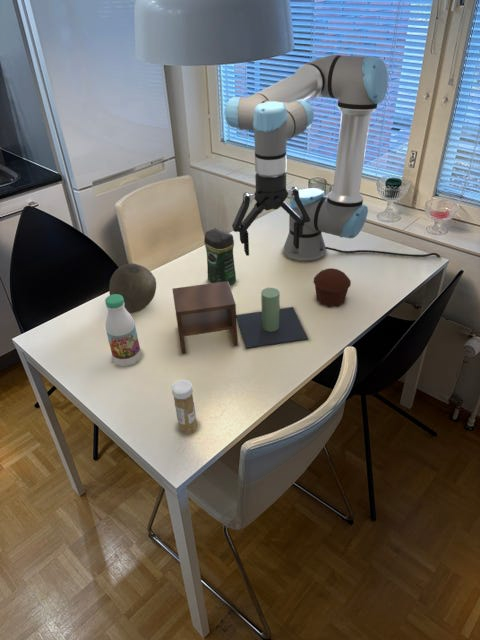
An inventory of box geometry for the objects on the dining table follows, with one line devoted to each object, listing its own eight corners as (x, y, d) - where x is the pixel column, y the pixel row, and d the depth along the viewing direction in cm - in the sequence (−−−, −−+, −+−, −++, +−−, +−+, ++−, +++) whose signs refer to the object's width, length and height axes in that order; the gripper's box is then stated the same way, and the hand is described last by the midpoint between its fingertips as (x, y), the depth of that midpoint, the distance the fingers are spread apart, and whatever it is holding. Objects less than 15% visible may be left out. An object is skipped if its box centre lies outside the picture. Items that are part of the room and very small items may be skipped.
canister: (277, 320, 148) (277, 286, 141) (281, 330, 144) (281, 296, 137) (260, 322, 147) (259, 288, 140) (264, 332, 143) (263, 298, 136)
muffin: (356, 300, 156) (359, 273, 150) (332, 314, 150) (334, 286, 144) (328, 285, 163) (330, 259, 157) (304, 298, 158) (306, 271, 152)
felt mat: (292, 308, 153) (292, 306, 153) (307, 339, 141) (308, 338, 140) (236, 316, 151) (235, 315, 151) (246, 349, 138) (246, 347, 138)
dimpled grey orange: (133, 327, 149) (124, 285, 140) (105, 310, 156) (95, 269, 148) (168, 306, 157) (161, 265, 148) (139, 291, 165) (131, 251, 156)
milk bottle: (110, 355, 139) (94, 295, 127) (136, 345, 142) (123, 287, 130) (118, 370, 133) (103, 310, 121) (145, 360, 136) (133, 300, 124)
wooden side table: (230, 321, 149) (228, 280, 141) (237, 345, 140) (235, 304, 131) (178, 328, 147) (172, 288, 139) (181, 354, 138) (175, 312, 129)
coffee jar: (240, 282, 167) (238, 232, 156) (222, 291, 163) (219, 241, 152) (221, 272, 173) (218, 223, 162) (204, 281, 169) (199, 231, 158)
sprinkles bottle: (200, 431, 115) (194, 389, 107) (181, 437, 114) (174, 395, 106) (194, 417, 118) (189, 376, 110) (176, 423, 117) (169, 381, 109)
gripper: (315, 161, 124) (312, 237, 136) (217, 172, 121) (223, 249, 133) (325, 171, 118) (320, 250, 131) (222, 184, 115) (228, 263, 127)
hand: (271, 249), depth 132 cm, fingers open, 13 cm apart
